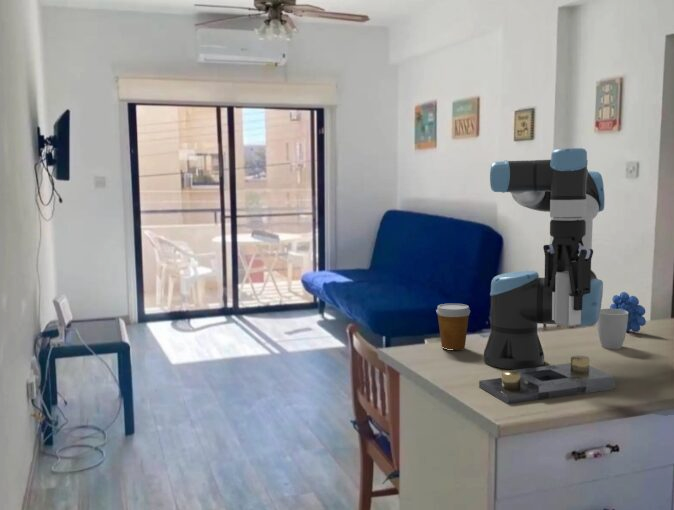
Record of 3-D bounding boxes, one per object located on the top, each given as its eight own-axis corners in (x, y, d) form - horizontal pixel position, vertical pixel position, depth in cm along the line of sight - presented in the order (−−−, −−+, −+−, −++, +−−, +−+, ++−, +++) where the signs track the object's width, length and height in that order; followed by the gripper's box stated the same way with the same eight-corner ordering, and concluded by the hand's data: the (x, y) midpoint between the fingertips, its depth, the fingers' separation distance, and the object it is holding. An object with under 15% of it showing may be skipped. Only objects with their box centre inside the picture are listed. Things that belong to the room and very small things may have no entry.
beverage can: (581, 326, 144) (582, 273, 142) (559, 327, 143) (560, 274, 142) (572, 322, 148) (572, 270, 147) (551, 322, 148) (552, 271, 147)
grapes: (601, 329, 199) (602, 291, 198) (614, 326, 203) (615, 289, 202) (636, 336, 190) (637, 296, 188) (649, 333, 193) (651, 294, 192)
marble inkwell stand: (479, 387, 147) (479, 361, 146) (579, 374, 155) (579, 349, 154) (507, 403, 136) (508, 376, 135) (614, 389, 144) (615, 362, 143)
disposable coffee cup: (476, 350, 178) (476, 308, 177) (445, 354, 176) (445, 310, 174) (460, 342, 187) (460, 302, 186) (430, 345, 185) (430, 304, 183)
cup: (629, 345, 180) (630, 310, 179) (624, 352, 174) (625, 315, 173) (598, 342, 185) (599, 307, 184) (593, 348, 178) (593, 312, 177)
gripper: (611, 219, 136) (608, 328, 139) (554, 216, 153) (553, 313, 155) (582, 221, 133) (580, 331, 136) (528, 217, 150) (527, 316, 153)
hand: (566, 321), depth 146 cm, fingers closed on beverage can, 5 cm apart
